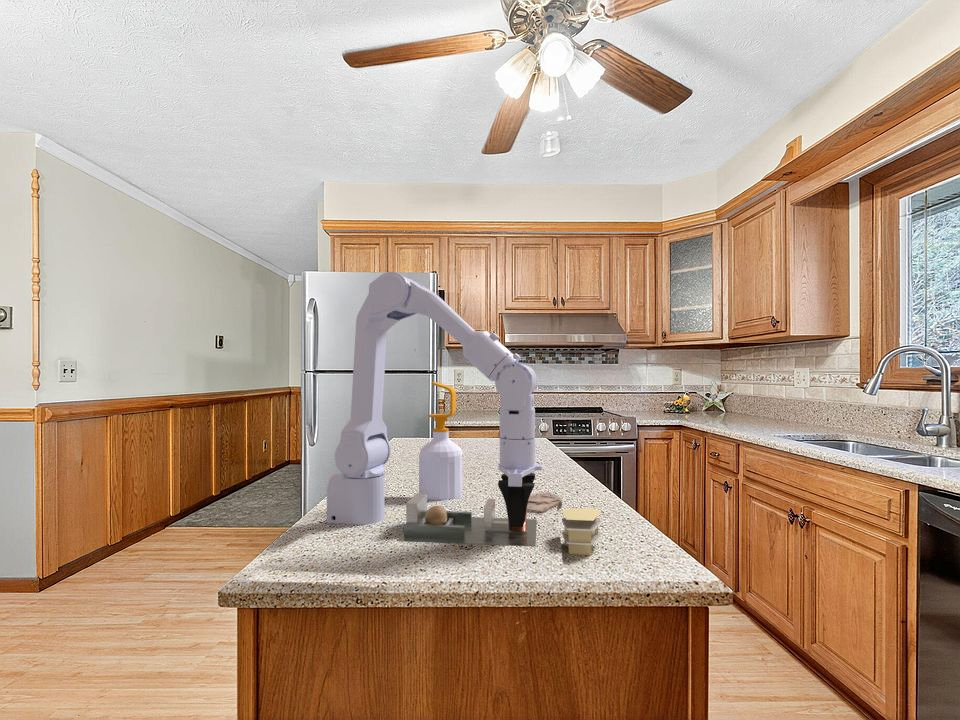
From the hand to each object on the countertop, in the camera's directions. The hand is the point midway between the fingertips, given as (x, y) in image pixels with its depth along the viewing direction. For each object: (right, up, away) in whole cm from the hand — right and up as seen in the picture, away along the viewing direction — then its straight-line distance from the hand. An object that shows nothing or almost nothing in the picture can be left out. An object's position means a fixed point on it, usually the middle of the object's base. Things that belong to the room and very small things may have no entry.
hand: (517, 522), depth 85 cm
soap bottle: (-14, -3, +25) cm, 29 cm away
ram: (-2, -1, 0) cm, 2 cm away
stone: (+4, -4, +17) cm, 17 cm away
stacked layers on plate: (+9, -3, -4) cm, 11 cm away
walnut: (-13, -1, +2) cm, 13 cm away
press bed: (-7, -3, +1) cm, 8 cm away
